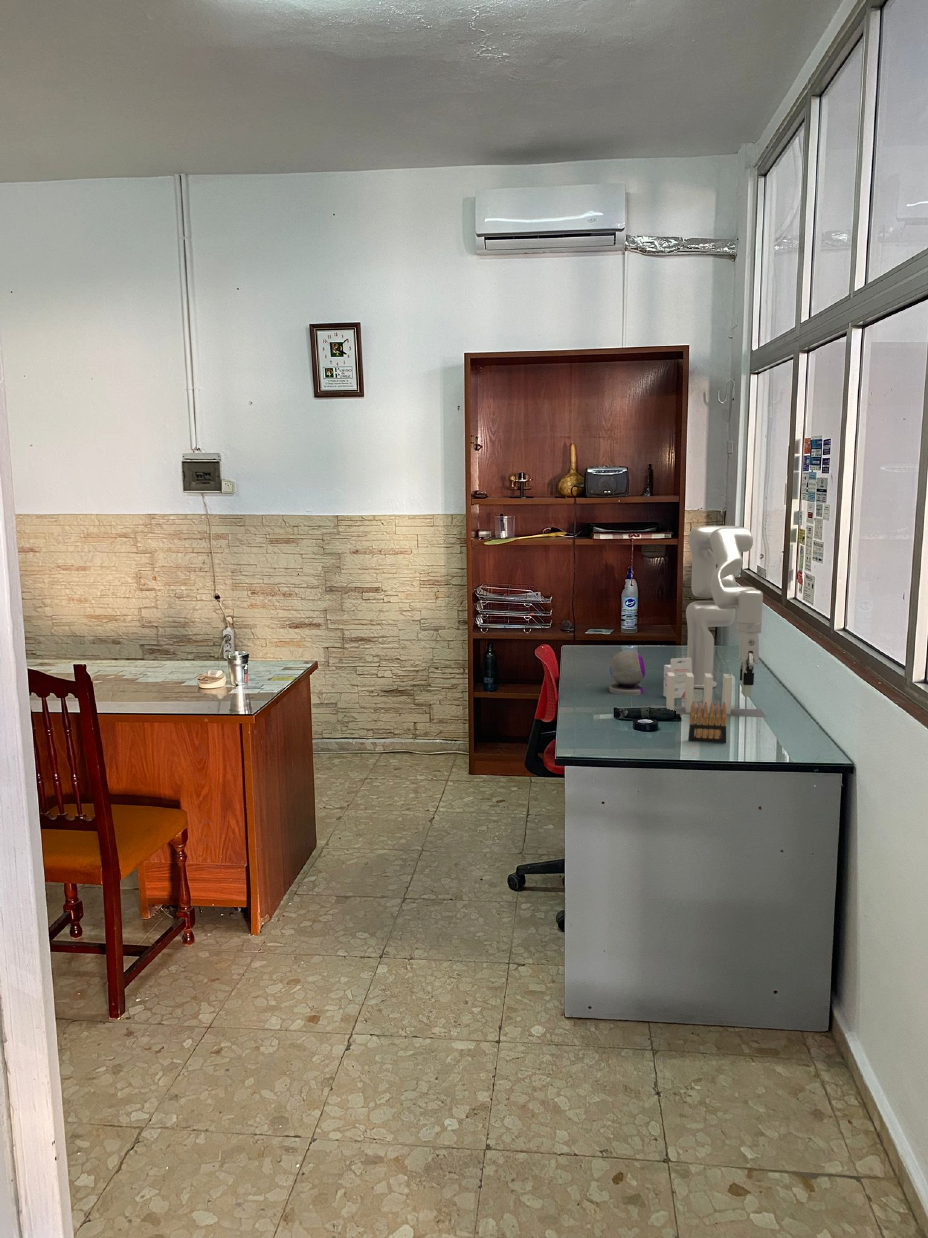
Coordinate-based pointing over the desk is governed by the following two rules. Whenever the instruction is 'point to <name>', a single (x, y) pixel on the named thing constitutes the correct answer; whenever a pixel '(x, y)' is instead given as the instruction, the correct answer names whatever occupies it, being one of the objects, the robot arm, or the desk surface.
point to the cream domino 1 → (670, 690)
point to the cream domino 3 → (708, 690)
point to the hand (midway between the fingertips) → (746, 682)
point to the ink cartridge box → (678, 675)
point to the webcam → (627, 673)
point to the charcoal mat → (733, 711)
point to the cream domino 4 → (727, 692)
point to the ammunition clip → (707, 724)
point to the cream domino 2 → (689, 692)
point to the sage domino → (745, 688)
